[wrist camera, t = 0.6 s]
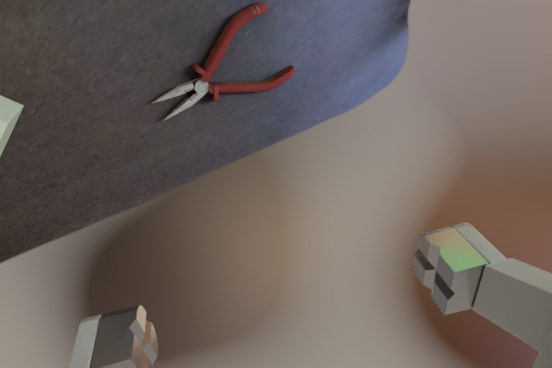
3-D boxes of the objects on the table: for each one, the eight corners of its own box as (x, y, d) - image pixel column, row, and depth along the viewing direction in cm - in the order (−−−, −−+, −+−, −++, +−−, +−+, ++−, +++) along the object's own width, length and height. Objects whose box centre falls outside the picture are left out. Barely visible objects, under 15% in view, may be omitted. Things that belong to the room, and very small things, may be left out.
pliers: (131, 73, 49) (131, 78, 47) (260, -3, 50) (265, -2, 48) (179, 140, 55) (181, 147, 53) (293, 72, 56) (299, 76, 54)
